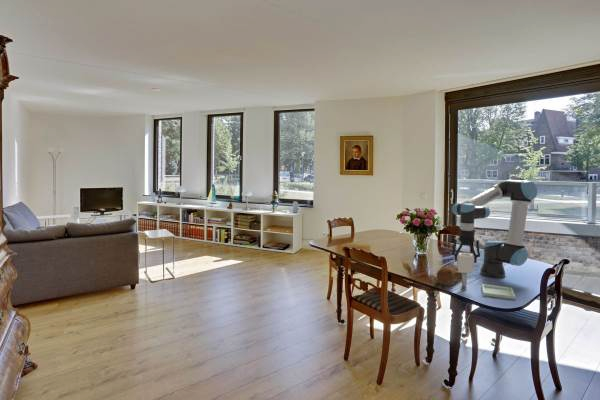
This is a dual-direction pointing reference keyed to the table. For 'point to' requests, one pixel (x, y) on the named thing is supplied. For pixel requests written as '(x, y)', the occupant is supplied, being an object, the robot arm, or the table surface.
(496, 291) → the tray
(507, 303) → the table surface
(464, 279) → the grey metal cylinder
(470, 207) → the robot arm
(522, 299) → the table surface
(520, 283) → the table surface
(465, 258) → the hollow block
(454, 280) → the bread
